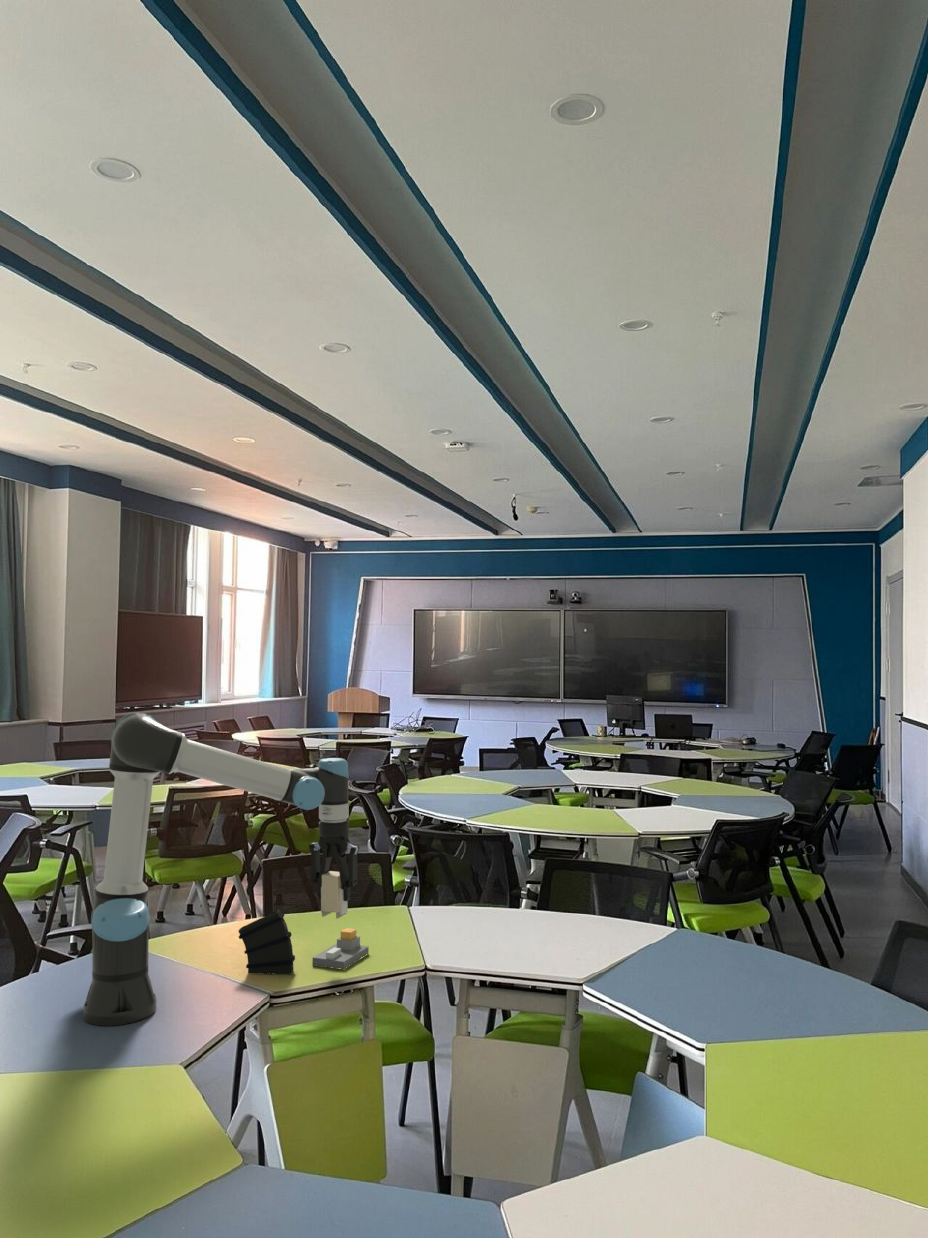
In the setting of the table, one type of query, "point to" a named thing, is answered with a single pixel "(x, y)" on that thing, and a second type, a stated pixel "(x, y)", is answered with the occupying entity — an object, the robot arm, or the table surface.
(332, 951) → the rail cradle
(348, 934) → the button
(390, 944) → the table surface
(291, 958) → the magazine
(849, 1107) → the table surface
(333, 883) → the block
